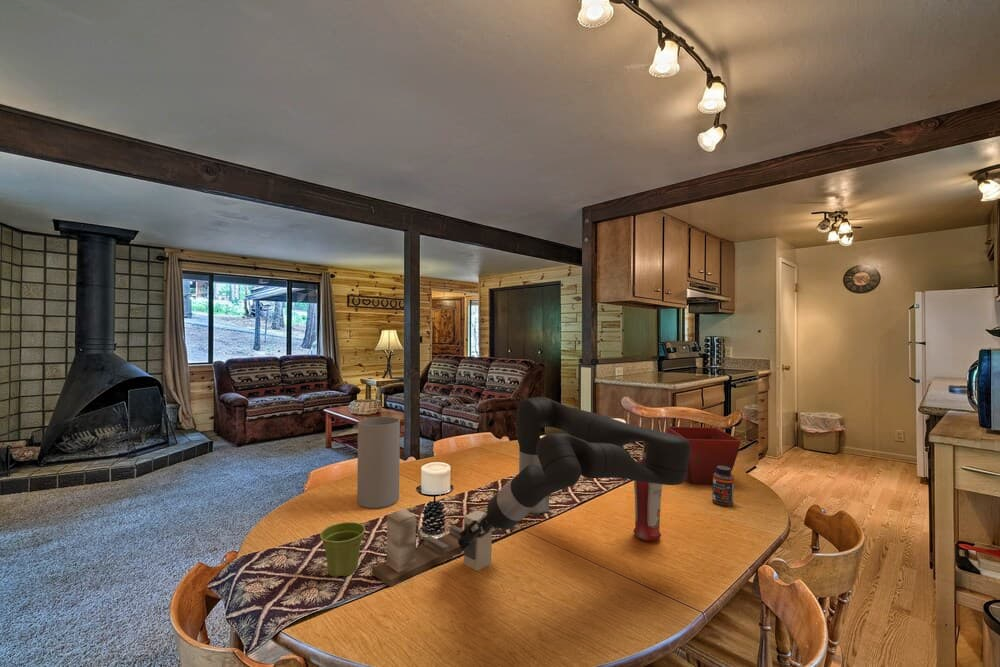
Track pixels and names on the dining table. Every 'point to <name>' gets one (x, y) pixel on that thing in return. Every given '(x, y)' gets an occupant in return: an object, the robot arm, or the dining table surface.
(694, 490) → the dining table surface
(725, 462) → the plant pot
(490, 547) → the block
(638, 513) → the liquor
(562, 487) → the robot arm
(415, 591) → the dining table surface
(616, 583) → the dining table surface
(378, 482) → the cylinder vase
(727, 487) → the supplement bottle
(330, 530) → the plant pot
